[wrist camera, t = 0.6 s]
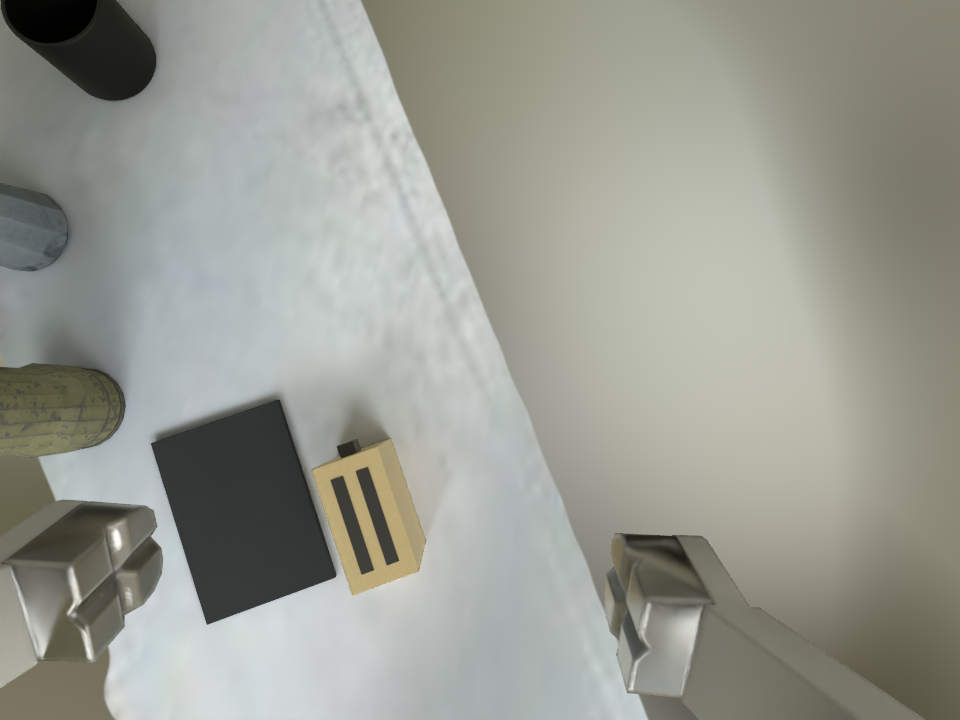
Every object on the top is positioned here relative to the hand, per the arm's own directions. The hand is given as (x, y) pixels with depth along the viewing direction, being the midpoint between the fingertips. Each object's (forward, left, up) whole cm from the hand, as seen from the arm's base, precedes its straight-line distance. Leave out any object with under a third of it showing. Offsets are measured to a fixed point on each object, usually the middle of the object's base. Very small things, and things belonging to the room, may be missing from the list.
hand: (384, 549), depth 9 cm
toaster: (-6, +10, -47) cm, 48 cm away
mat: (-2, +24, -47) cm, 52 cm away
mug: (+52, +23, -47) cm, 74 cm away
